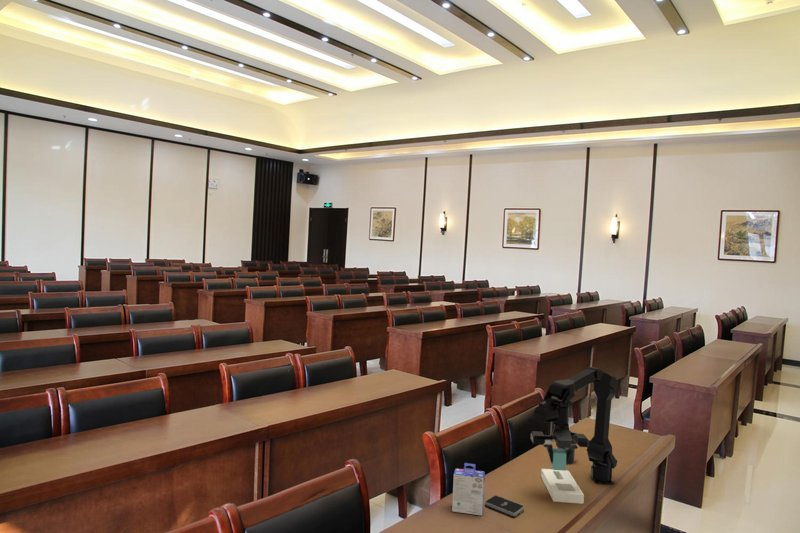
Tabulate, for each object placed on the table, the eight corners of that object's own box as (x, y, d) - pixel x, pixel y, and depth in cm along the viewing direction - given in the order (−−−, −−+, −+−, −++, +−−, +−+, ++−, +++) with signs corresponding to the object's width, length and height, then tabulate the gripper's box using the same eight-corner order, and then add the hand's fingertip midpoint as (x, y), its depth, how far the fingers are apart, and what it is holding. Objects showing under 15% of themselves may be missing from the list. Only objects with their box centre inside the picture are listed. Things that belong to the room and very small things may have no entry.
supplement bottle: (556, 462, 207) (557, 432, 207) (557, 456, 213) (559, 428, 213) (573, 465, 204) (575, 435, 204) (574, 459, 211) (576, 430, 211)
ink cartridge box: (483, 508, 166) (485, 464, 165) (482, 516, 160) (485, 470, 160) (453, 504, 168) (455, 460, 167) (451, 512, 162) (453, 466, 162)
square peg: (562, 465, 179) (563, 448, 179) (565, 470, 175) (566, 453, 175) (550, 464, 180) (551, 448, 180) (553, 470, 176) (553, 452, 175)
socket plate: (568, 478, 192) (568, 470, 192) (583, 503, 172) (584, 494, 172) (541, 476, 192) (541, 468, 192) (553, 501, 172) (553, 492, 172)
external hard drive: (514, 519, 160) (514, 513, 160) (483, 507, 167) (483, 501, 167) (524, 512, 165) (524, 506, 165) (494, 500, 172) (494, 494, 172)
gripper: (536, 425, 170) (535, 471, 170) (594, 428, 168) (592, 475, 169) (531, 414, 181) (529, 458, 181) (585, 417, 179) (583, 461, 180)
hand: (558, 463), depth 177 cm, fingers closed on square peg, 4 cm apart
